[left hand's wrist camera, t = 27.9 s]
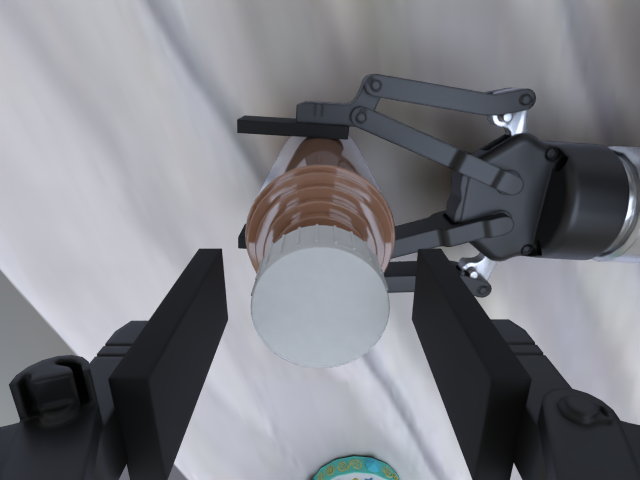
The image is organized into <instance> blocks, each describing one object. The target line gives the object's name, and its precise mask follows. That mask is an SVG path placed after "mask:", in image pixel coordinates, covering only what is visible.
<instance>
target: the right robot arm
mask: <svg viewBox="0 0 640 480" xmlns="http://www.w3.org/2000/svg"><path fill="white" fill-rule="evenodd" d="M380 98H386V99H391V100H397V101H403V102H409V103H415V104H421V105H426V106H432V107H438V108H444V109H450V110H456V111H462V112H467V113H473V114H479V115H487V118H488V121H489V122H490V123H491V124H493V125H496V126H502V127H503V128H504V130H505V133H506V134H504V135H502V136H501V137H499V138H497V139H496V140H494V141H492V142H491V143H489V144H487V145H486V146H484V147H482V148H481V149H479V150H477V151H475V152H474V153H472V154H471V153H468V152H466V151H464V150H462V149H459V148H457V147H455V146H453V145H450V144H448V143H446V142H443V141H441V140H439V139H437V138H434V137H432V136H430V135H428V134H426V133H423V132H421V131H419V130H417V129H414V128H412V127H410V126H408V125H406V124H403V123H401V122H399V121H397V120H394V119H392V118H390V117H388V116H385V115H383V114H381V113H379V112H377V111H374V110H375V108H376V106H377V104H378V102H379V99H380ZM535 100H536V96H535V93H534V92H533V90H530V89H523V88H504V89H499V90H494V91H489V92H484V93H483V92H477V91H471V90H466V89H460V88H454V87H448V86H443V85H437V84H431V83H425V82H420V81H414V80H408V79H402V78H397V77H391V76H385V75H379V74H370V75H367V76H365V78H364V79H363V80H362V84H361V86H360V89H359V91H358V93H357V95H356V97H355V99H354V100H353V101H351V102H349V103H344V104H343V103H328V102H312V101H305V102H302V103H299V104H297V111H296V119H291V118H275V117H260V116H243V117H241V118H239V119H238V120H237V133H248V134H264V135H280V136H296V137H312V138H328V139H344V140H348V133H349V126H352V127H358V128H360V129H362V130H364V131H367V132H369V133H371V134H374V135H376V136H378V137H380V138H383V139H385V140H387V141H389V142H392V143H394V144H396V145H399V146H401V147H403V148H405V149H408V150H410V151H412V152H414V153H417V154H419V155H421V156H424V157H426V158H428V159H430V160H433V161H435V162H437V163H439V164H442V165H444V166H446V167H449V168H451V169H452V170H453V172H452V177H451V184H452V193H451V195H450V197H449V200H448V202H447V206H446V211H442V212H438V213H435V214H432V215H431V216H430V217H429V218H425V219H422V220H418V221H414V222H410V223H406V224H403V225H399V226H395V244H394V248H393V253H392V256H391V259H392V258H396V257H400V256H404V255H408V254H411V253H415V252H418V249H431V248H435V247H439V246H445V247H452V246H456V245H460V244H464V243H468V242H469V243H470V244H471V245H473V246H474V247H475V248H476V249H477V250H478V251H480V253H479V254H478V255H477V256H475V257H472V258H467V257H466V258H464V257H463V258H461V259H460V260H459V262H455V261H450V263H451V264H452V265H453V267H454V268H455V270H456V271H457V273H458V274H459V275H460V277H461V278H462V280H463V281H464V283H465V284H466V285H467V287H468V288H469V290H470V291H471V293H472V294H473V295H474V296H476V297H486V296H487V295H489V294H490V292H491V285H490V284H489V283H488V279H489V277H490V275H491V273H492V271H493V269H494V267H495V265H496V264H497V262H498V261H504V260H507V259H509V258H512V257H515V256H529V257H537V258H553V259H571V260H589V259H592V260H596V261H601V262H623V263H640V148H639V147H624V146H610V147H606V146H603V145H598V144H583V143H567V142H551V141H541V140H539V139H537V138H536V137H535V136H533V135H532V134H529V133H528V109H530V108H531V107H532V106H533V105H534V103H535ZM245 231H246V224H245V225H244V227H243V229H242V231H241V233H240V235H239V237H238V248H243V249H247V247H246V238H245ZM416 268H417V261H404V262H389V263H388V266H387V268H386V270H385V272H384V277H385V280H386V283H387V286H388V290H387V292H388V293H395V292H414V290H415V279H416Z"/></svg>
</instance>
